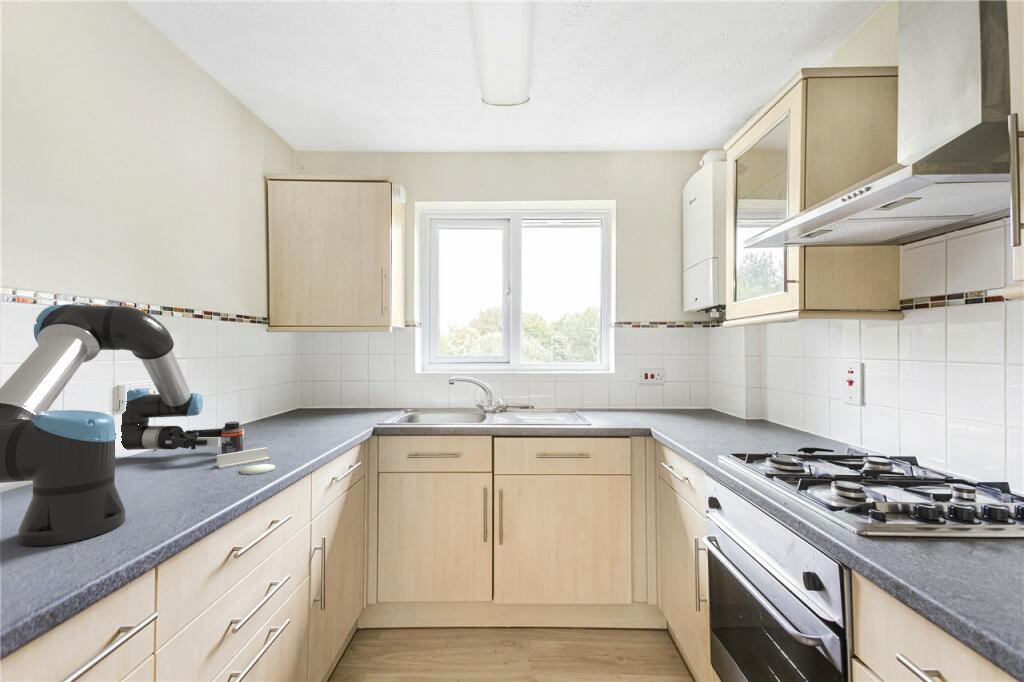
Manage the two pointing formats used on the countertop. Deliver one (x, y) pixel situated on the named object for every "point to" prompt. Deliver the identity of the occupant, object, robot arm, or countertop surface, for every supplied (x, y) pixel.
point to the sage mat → (257, 469)
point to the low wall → (242, 458)
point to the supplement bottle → (231, 438)
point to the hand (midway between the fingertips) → (232, 437)
